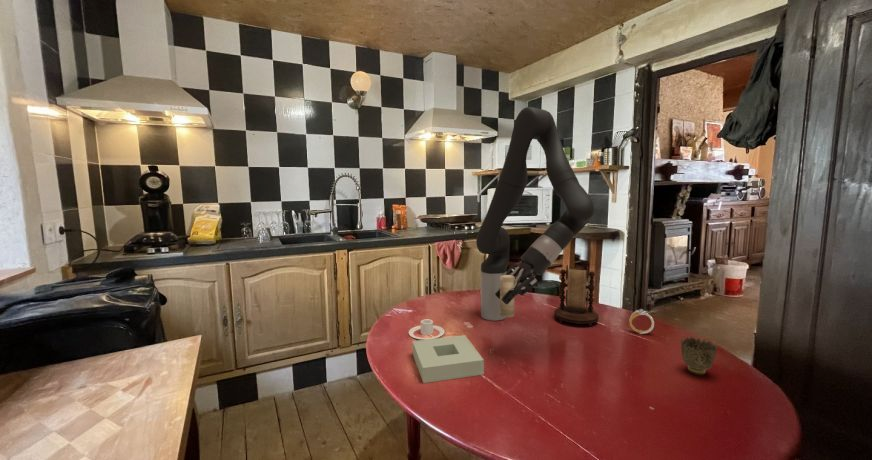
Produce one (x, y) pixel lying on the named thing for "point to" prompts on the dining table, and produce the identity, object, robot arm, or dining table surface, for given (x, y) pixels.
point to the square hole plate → (447, 358)
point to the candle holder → (426, 329)
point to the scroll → (576, 297)
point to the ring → (642, 312)
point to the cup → (698, 354)
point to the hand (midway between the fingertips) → (500, 299)
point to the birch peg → (505, 286)
